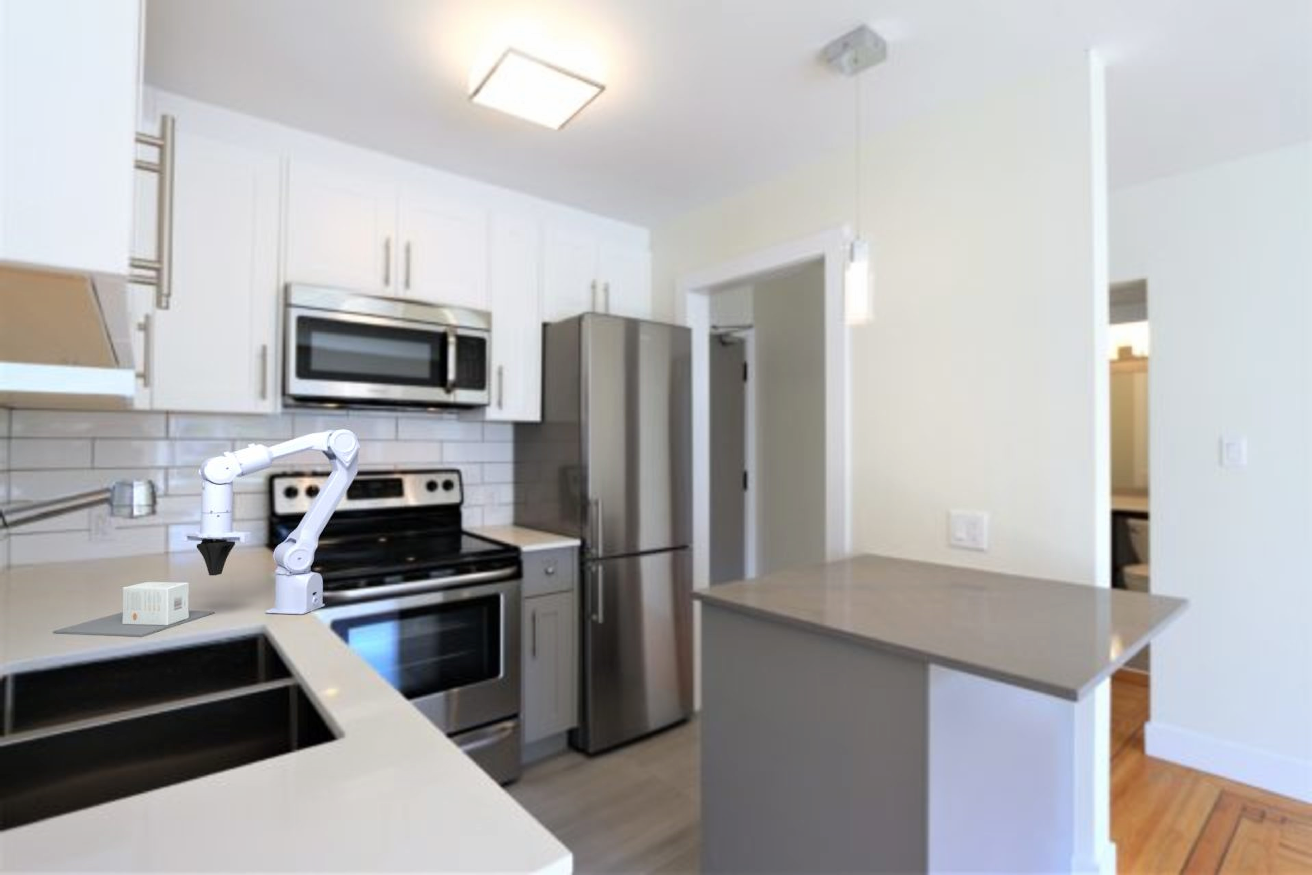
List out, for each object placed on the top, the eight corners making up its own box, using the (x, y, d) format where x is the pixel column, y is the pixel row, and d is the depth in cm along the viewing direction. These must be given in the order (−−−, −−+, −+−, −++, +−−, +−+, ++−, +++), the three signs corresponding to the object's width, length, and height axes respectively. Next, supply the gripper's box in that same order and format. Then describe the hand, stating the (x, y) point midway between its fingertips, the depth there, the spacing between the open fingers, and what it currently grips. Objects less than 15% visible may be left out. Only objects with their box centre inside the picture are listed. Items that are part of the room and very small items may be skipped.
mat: (214, 613, 143) (214, 611, 143) (141, 636, 125) (141, 634, 125) (135, 610, 145) (135, 608, 145) (52, 632, 127) (52, 631, 127)
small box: (189, 582, 136) (145, 580, 137) (167, 588, 131) (121, 586, 132) (189, 618, 136) (145, 617, 137) (167, 626, 131) (121, 624, 132)
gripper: (170, 513, 132) (168, 577, 132) (234, 514, 131) (232, 579, 131) (197, 510, 139) (195, 570, 139) (258, 511, 138) (256, 572, 138)
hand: (215, 574), depth 135 cm, fingers closed
